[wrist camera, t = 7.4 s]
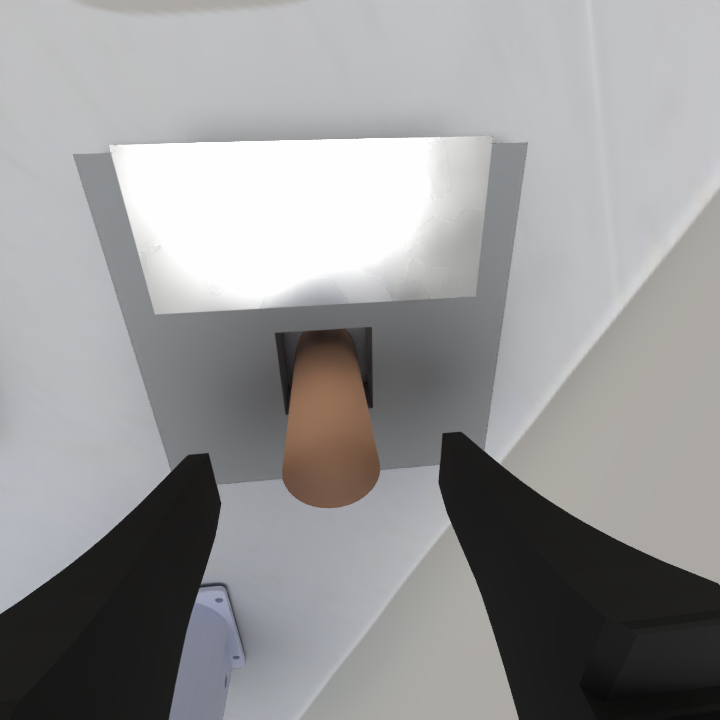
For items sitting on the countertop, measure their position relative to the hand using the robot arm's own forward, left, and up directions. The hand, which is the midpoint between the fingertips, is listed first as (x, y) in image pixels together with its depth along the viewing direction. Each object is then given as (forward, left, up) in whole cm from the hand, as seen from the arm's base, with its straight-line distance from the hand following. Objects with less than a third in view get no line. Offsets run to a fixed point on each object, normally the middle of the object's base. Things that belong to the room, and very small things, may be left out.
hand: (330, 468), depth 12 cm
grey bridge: (+7, 0, -6) cm, 9 cm away
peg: (0, 0, -9) cm, 9 cm away
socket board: (+2, 0, -9) cm, 9 cm away
